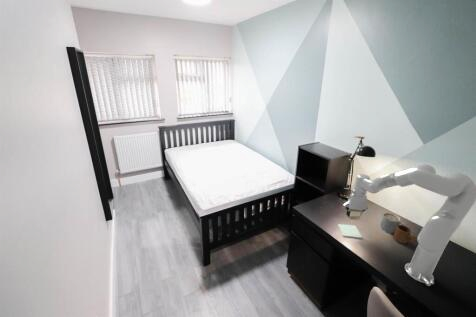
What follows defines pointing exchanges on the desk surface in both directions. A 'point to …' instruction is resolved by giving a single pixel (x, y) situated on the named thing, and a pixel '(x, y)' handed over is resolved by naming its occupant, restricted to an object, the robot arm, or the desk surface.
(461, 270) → the desk surface
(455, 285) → the desk surface
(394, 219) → the coffee mug
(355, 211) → the maple block
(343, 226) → the trivet
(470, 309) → the desk surface
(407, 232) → the mug
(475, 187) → the robot arm
